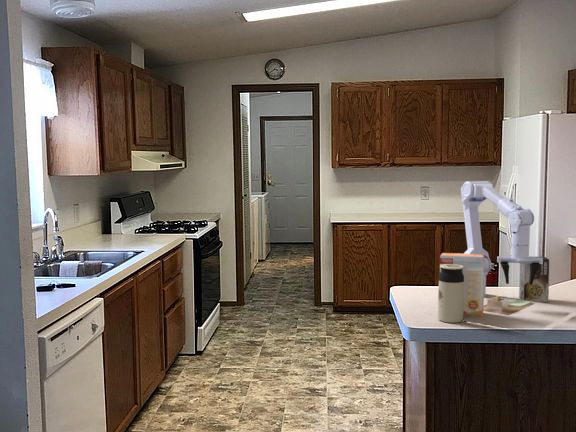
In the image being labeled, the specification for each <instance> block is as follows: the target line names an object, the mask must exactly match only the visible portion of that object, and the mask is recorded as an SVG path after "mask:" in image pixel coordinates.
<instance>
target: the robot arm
mask: <svg viewBox="0 0 576 432" xmlns="http://www.w3.org/2000/svg"><path fill="white" fill-rule="evenodd" d="M460 194H461V203H462V208H463V217H464V225H465V226H464V227H465V228H464V229H465V237H466V245H467V246H466V247H467V249H466V250H465V251H464V252H463V254H478V255H484V297H486V294H487V293H486V292H487V289H486V287H487V275H488V274H489V272H490V271H491V269H492V261H491V259H490V256H489V252H488V251H487V250H485V249H484V248H483V242H482V234H481V233H482V232H481V224H480V216H479V206H480V205H481V204H482V203H484V202H485V201H486V200H488V201H490V202H491V203H493V204H494V205H496V206H497V211H498V212H499V213H500V214H502V215H503V216H504V217H505V218H507V219H508V223H509V226H510V231H511V246H510V247H511V248H510V249H511V251H510V252H511V253H510V255H508V256H506V255H505V256H504V255H503V256H501V255H500V256H497V257H496V258H497V259H496V262H497V263H498V264H499V263H500V266H501V269H502V271H503V274H504V278H505V284H506V285H509V284H510V282H509V278H510V277H509V274H510V265H509V263H510V264H511V263H512V264H520V263H530V278H529V284H530V285H532V284H533V280H534V277H535V274H536V272H537V271H538V269H539V267H540V265H539V264H543V258H537V257H538V256H530V235H531V226H532V225H533V224H534V221H535V215H534V213H533V211H532V210H531V209H529V208H526V209H524V208H523V207H522V206H521V205H519V204H517V203H516V202H515V201H514V199H513V198H511V197H510V198H509V197H506V198H505V197H503V195H501V193H499V192H498V191H497V190H496V189H495V188H494V185H493V184H492V183H491V182H490V181H488V180H484V181H483V180H482V181H469V180H467V181H465V182H464V183H463V184H462V186H461V187H460ZM525 261H526V262H525Z"/></svg>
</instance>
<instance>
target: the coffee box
mask: <svg viewBox="0 0 576 432" xmlns="http://www.w3.org/2000/svg"><path fill="white" fill-rule="evenodd" d="M536 257H537V258H543V264H539V265H540V267H539V269H538V271H537V272H536V274H535V277H534V280H533V284H532V285H530V284H529V278H530V263H519V281H518V282H519V284H518V285H519V287H518V288H519V289H518V290H519V291H518V293H519V294H518V298H519V299H518V300H522V301H528V302H532V303H533V302H534V303H549V292H550V291H549V289H550V286H549V284H550V283H549V282H550V277H549V276H550V258H548V257H545V256H536ZM525 262H526V261H525Z"/></svg>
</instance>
